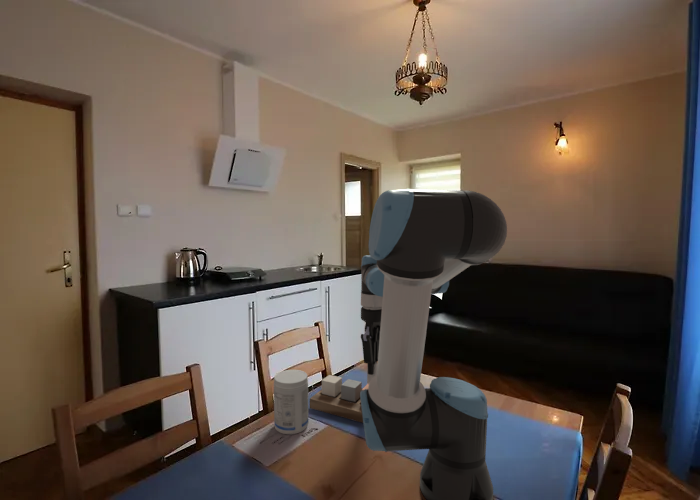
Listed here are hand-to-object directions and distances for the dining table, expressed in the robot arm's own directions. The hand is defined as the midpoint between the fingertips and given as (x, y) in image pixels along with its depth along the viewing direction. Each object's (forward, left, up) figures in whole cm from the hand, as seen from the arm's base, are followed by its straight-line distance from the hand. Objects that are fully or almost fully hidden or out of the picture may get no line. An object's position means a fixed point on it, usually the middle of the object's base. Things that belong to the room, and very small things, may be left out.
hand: (372, 383), depth 110 cm
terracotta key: (0, 0, -6) cm, 6 cm away
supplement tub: (-18, +17, -9) cm, 26 cm away
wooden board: (0, +7, -9) cm, 11 cm away
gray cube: (0, +7, -6) cm, 9 cm away
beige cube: (0, +14, -6) cm, 15 cm away
